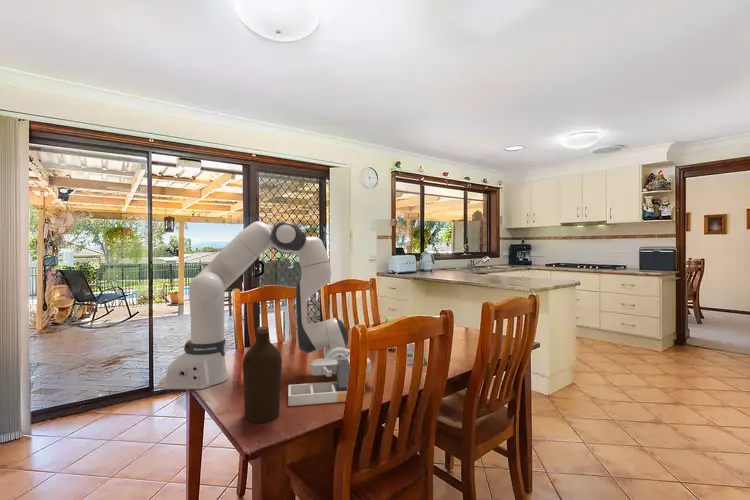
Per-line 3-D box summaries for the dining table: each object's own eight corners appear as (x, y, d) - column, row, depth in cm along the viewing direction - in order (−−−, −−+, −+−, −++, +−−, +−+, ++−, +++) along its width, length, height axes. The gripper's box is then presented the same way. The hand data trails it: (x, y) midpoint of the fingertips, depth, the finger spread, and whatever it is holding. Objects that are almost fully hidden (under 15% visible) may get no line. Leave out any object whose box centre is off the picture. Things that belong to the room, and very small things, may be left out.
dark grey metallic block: (338, 399, 119) (339, 364, 119) (336, 393, 124) (337, 359, 124) (349, 398, 120) (350, 363, 120) (347, 392, 125) (347, 359, 125)
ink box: (424, 361, 160) (424, 333, 160) (425, 364, 155) (425, 336, 155) (404, 360, 160) (404, 333, 160) (405, 364, 156) (405, 335, 156)
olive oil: (275, 424, 102) (275, 332, 101) (236, 423, 102) (236, 331, 102) (285, 408, 112) (286, 324, 112) (250, 407, 113) (251, 323, 112)
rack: (288, 406, 113) (288, 396, 113) (288, 394, 123) (288, 384, 123) (357, 400, 118) (357, 391, 118) (352, 389, 128) (352, 380, 128)
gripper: (309, 353, 132) (311, 365, 119) (366, 350, 137) (374, 361, 123) (308, 371, 132) (311, 385, 119) (366, 367, 137) (374, 381, 123)
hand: (344, 373), depth 121 cm, fingers open, 8 cm apart
